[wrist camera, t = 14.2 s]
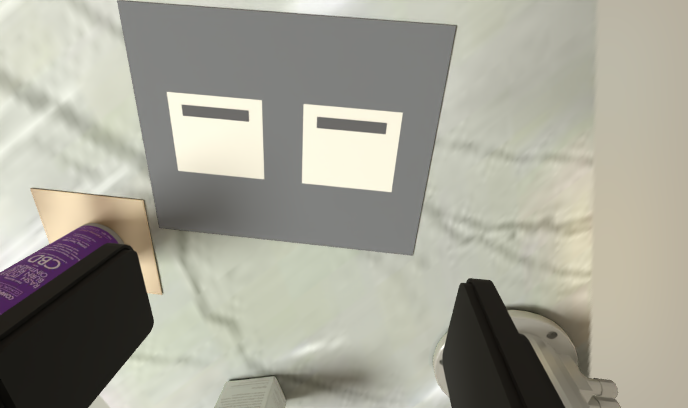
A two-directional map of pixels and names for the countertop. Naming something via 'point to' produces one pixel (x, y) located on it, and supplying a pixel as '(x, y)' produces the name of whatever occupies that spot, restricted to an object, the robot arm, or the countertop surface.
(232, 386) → the skincare box
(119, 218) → the oak pad
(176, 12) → the label mat
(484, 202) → the countertop surface
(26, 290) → the container
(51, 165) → the countertop surface
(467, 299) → the robot arm
